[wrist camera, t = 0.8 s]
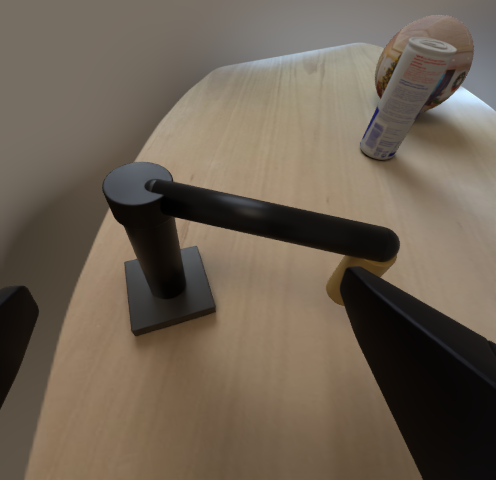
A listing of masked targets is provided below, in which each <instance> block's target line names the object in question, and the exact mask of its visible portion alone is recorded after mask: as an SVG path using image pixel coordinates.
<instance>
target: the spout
mask: <svg viewBox="0 0 496 480" xmlns="http://www.w3.org/2000/svg"><path fill="white" fill-rule="evenodd" d="M102 189H103V193H104V195H105V198H106V200H107V202H108V204H109V207H110V209H111V211H112V213H113V216H114V218H115V219H116V220H117V221H118V222H119V223H120V224H121V225H123V226H125V227H128V228H131V229H139V230H142V229H150V228H154V227H157V226H160V225H162V224H164V223H165V222H167V221H168V220H169V219H170V218H171V217H176V218H181V219H185V220H190V221H194V222H199V223H203V224H207V225H212V226H216V227H221V228H225V229H230V230H234V231H239V232H243V233H248V234H252V235H257V236H261V237H266V238H270V239H275V240H279V241H284V242H288V243H293V244H297V245H302V246H306V247H311V248H315V249H320V250H324V251H329V252H333V253H338V254H342V255H345V256H344V258H343V259H342V261H341V262H340V264H339V265H338V267H337V268H336V270H335V271H334V273H333V274H332V276H331V277H330V279H329V280H328V282H327V284H326V290H327V293H328V295H329V297H330V298H331V299H332V300H333V301H334V302H335V303H337V304H339V305H342V306H344V303H343V300H342V297H341V295H340V289H339V288H340V283H341V280H342V277H343V274H344V271H345V269H346V268H347V267H350V266H360V267H363V268H364V269H366V270H368V271H369V272H371V273H373V274H375V275H376V276H378V277H381V276H382V275H383V274H384V273H385V272H386V271H387V270H388V269H389V268H390V267H391V266H392V265H393V264H394V263H395V261H396V258H397V253H398V251H399V248H400V241H399V238H398V236H397V235H396V234H395V233H394V232H393V231H392V230H390V229H388V228H385V227H381V226H377V225H372V224H367V223H363V222H358V221H353V220H349V219H344V218H340V217H335V216H330V215H326V214H321V213H316V212H312V211H307V210H302V209H298V208H293V207H288V206H284V205H279V204H274V203H270V202H265V201H261V200H256V199H251V198H247V197H242V196H237V195H233V194H228V193H223V192H219V191H214V190H209V189H205V188H200V187H195V186H191V185H186V184H182V183H177V182H173V178H172V175H171V174H170V172H169V171H168V170H167V169H166V168H164V167H162V166H160V165H158V164H154V163H149V162H135V163H129V164H126V165H123V166H120V167H118V168H116V169H114V170H113V171H112V172H110V173H109V174H108V175H107V176H106V178H105V179H104V182H103V187H102Z"/></svg>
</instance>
